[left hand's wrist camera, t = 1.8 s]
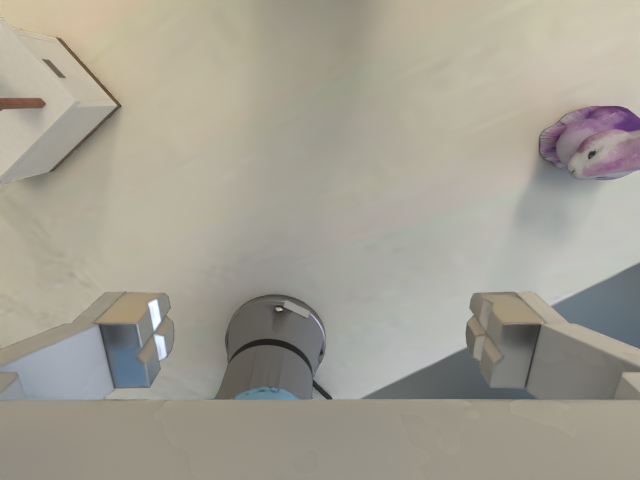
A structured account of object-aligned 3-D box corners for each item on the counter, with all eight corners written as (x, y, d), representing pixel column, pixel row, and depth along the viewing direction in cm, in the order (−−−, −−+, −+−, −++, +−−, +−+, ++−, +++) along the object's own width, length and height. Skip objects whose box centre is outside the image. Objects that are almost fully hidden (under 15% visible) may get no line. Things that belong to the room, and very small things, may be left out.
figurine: (519, 154, 50) (598, 177, 35) (578, 85, 47) (690, 79, 33) (569, 195, 51) (662, 231, 37) (629, 130, 48) (755, 144, 34)
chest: (60, 38, 45) (-3, 23, 36) (121, 105, 48) (76, 107, 39) (-8, 111, 48) (-82, 114, 39) (53, 171, 50) (-3, 186, 42)
